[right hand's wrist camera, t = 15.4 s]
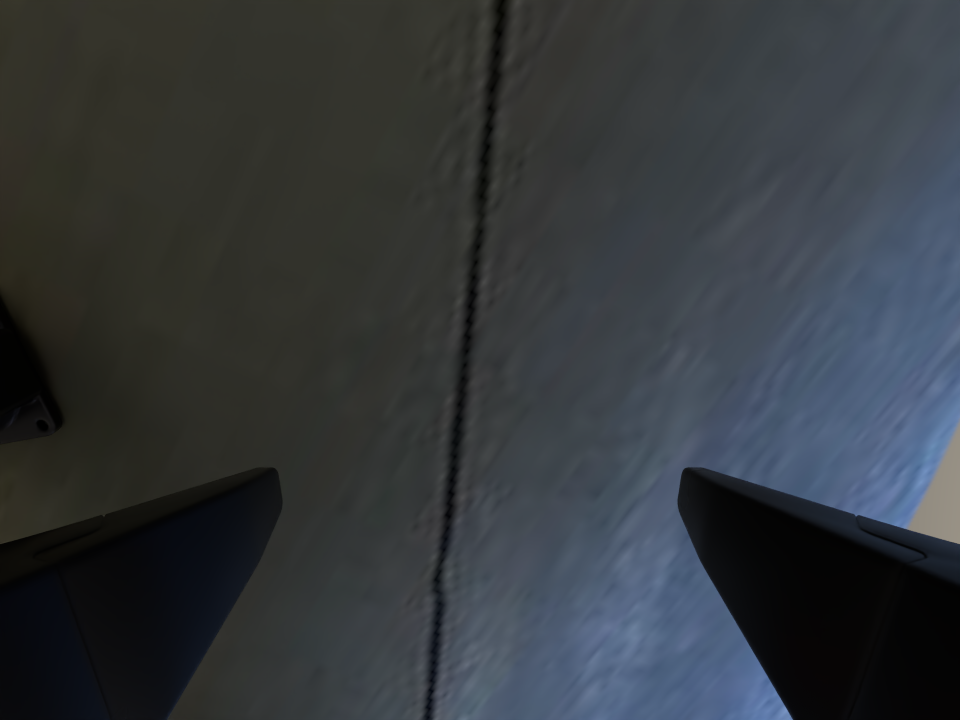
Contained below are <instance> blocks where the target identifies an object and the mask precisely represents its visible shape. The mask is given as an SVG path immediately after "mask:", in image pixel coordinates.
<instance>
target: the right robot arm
mask: <svg viewBox="0 0 960 720" xmlns="http://www.w3.org/2000/svg"><path fill="white" fill-rule="evenodd" d="M44 421H46V422H47V423H48V425H47V424H45V422H44ZM61 427H62V421H61V418H60V416H59V414H58V412H57V410H56V408H55V407H54V405H53V403H52V401H51V399H50V397H49V395H48V393H47V391H46V389H45V387H44V386H43V384H42V382H41V380H40V378H39V376H38V374H37V372H36V370H35V368H34V367H33V365H32V363H31V361H30V359H29V357H28V355H27V353H26V351H25V349H24V347H23V346H22V344H21V342H20V340H19V338H18V336H17V334H16V332H15V330H14V328H13V326H12V325H11V323H10V321H9V319H8V317H7V315H6V313H5V311H4V309H3V307H2V305H1V304H0V444H4V443H10V442H15V441H21V440H27V439H32V438H38V437H44V436H49V435H51V434H53V433H54V432H56V431H58V430H59V429H60V428H61ZM281 509H282V494H281V488H280V481H279V475H278V472H277V470H276V469H275V468H272V467H267V468H255V469H251V470H248V471H245V472H242V473H238V474H235V475H232V476H229V477H225V478H222V479H219V480H216V481H212V482H209V483H206V484H203V485H200V486H196V487H193V488H190V489H187V490H183V491H180V492H177V493H174V494H170V495H167V496H164V497H161V498H157V499H154V500H151V501H148V502H144V503H141V504H138V505H135V506H131V507H128V508H125V509H122V510H118V511H115V512H112V513H109V514H106V515H105V516H102V515H100V516H97V517H93V518H90V519H87V520H84V521H80V522H77V523H73V524H70V525H67V526H63V527H60V528H57V529H53V530H50V531H46V532H43V533H39V534H36V535H32V536H29V537H25V538H21V539H18V540H14V541H11V542H7V543H3V544H0V720H167V719H168V717H169V715H170V713H171V712H172V710H173V708H174V707H175V705H176V703H177V702H178V700H179V698H180V696H181V695H182V693H183V691H184V690H185V688H186V686H187V684H188V683H189V681H190V679H191V678H192V676H193V674H194V673H195V671H196V669H197V667H198V666H199V664H200V662H201V661H202V659H203V657H204V655H205V654H206V652H207V650H208V649H209V647H210V645H211V644H212V642H213V640H214V638H215V637H216V635H217V633H218V632H219V630H220V628H221V626H222V625H223V623H224V621H225V620H226V618H227V616H228V615H229V613H230V611H231V609H232V608H233V606H234V604H235V603H236V601H237V599H238V597H239V596H240V594H241V592H242V591H243V589H244V587H245V585H246V584H247V582H248V580H249V579H250V577H251V575H252V574H253V572H254V570H255V568H256V566H257V565H258V563H259V561H260V559H261V557H262V555H263V552H264V550H265V548H266V545H267V543H268V541H269V538H270V536H271V534H272V531H273V529H274V527H275V524H276V522H277V520H278V517H279V515H280V513H281ZM678 509H679V513H680V515H681V517H682V520H683V522H684V524H685V527H686V529H687V531H688V534H689V536H690V538H691V541H692V543H693V545H694V548H695V550H696V552H697V555H698V557H699V559H700V561H701V563H702V565H703V566H704V568H705V570H706V572H707V574H708V575H709V577H710V579H711V580H712V582H713V584H714V585H715V587H716V589H717V591H718V592H719V594H720V596H721V597H722V599H723V601H724V603H725V604H726V606H727V608H728V609H729V611H730V613H731V615H732V616H733V618H734V620H735V621H736V623H737V625H738V626H739V628H740V630H741V632H742V633H743V635H744V637H745V638H746V640H747V642H748V644H749V645H750V647H751V649H752V650H753V652H754V654H755V655H756V657H757V659H758V661H759V662H760V664H761V666H762V667H763V669H764V671H765V673H766V674H767V676H768V678H769V679H770V681H771V683H772V684H773V686H774V688H775V690H776V691H777V693H778V695H779V696H780V698H781V700H782V702H783V703H784V705H785V707H786V708H787V710H788V712H789V713H790V715H791V717H792V719H793V720H960V544H957V543H953V542H949V541H946V540H942V539H938V538H935V537H931V536H928V535H924V534H921V533H917V532H913V531H910V530H907V529H903V528H900V527H897V526H893V525H890V524H887V523H883V522H880V521H876V520H873V519H870V518H867V517H863V516H860V515H858V516H855V515H854V514H851V513H848V512H845V511H842V510H838V509H835V508H832V507H829V506H825V505H822V504H819V503H816V502H812V501H809V500H806V499H803V498H799V497H796V496H793V495H790V494H786V493H783V492H780V491H777V490H773V489H770V488H767V487H764V486H760V485H757V484H754V483H751V482H748V481H744V480H741V479H738V478H735V477H731V476H728V475H725V474H722V473H718V472H715V471H712V470H709V469H705V468H693V467H688V468H685V469H684V470H683V472H682V475H681V481H680V488H679V494H678Z"/></svg>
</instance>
